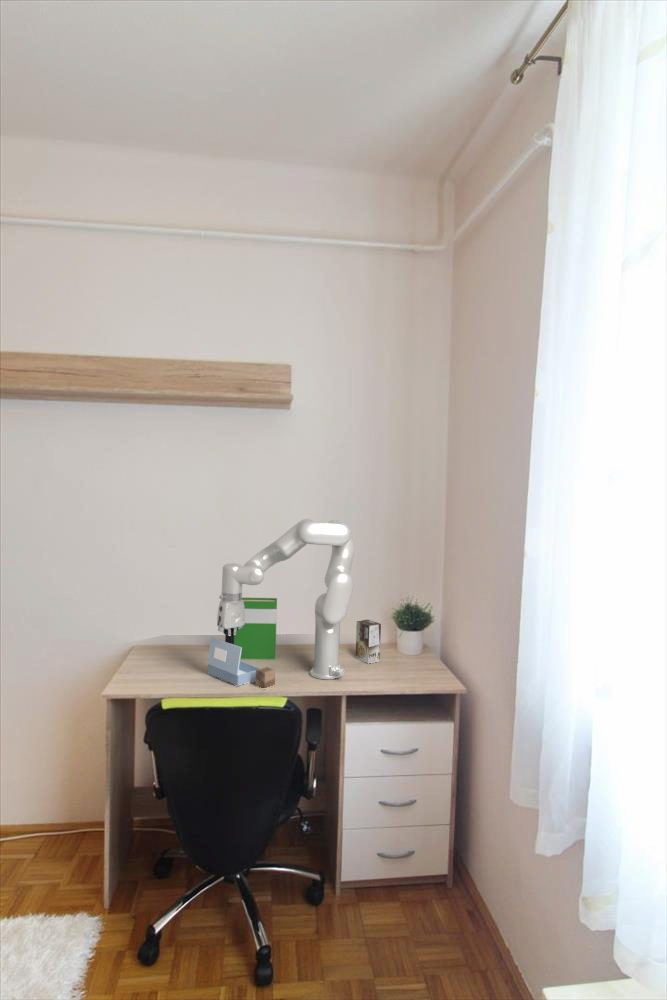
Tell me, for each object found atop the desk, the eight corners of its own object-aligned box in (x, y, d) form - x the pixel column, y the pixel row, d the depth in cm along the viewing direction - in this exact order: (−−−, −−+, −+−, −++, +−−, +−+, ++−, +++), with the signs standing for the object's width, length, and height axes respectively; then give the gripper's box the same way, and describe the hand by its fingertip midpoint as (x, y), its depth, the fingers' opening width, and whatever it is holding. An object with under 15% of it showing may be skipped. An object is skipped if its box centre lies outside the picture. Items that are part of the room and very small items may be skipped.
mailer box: (262, 679, 251) (263, 668, 251) (237, 686, 243) (237, 675, 242) (232, 667, 264) (233, 657, 263) (207, 674, 255) (208, 664, 255)
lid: (241, 647, 243) (240, 647, 242) (237, 675, 242) (236, 675, 242) (211, 637, 255) (210, 637, 255) (208, 663, 255) (206, 663, 254)
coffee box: (380, 662, 277) (381, 623, 276) (368, 664, 273) (369, 625, 272) (367, 656, 285) (368, 618, 283) (354, 658, 281) (356, 620, 280)
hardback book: (232, 658, 275) (233, 601, 273) (233, 653, 282) (234, 597, 281) (275, 659, 276) (276, 602, 275) (275, 653, 284) (276, 598, 282)
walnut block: (274, 686, 245) (275, 670, 244) (264, 689, 241) (264, 673, 241) (265, 682, 248) (266, 666, 248) (255, 685, 244) (255, 669, 244)
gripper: (221, 601, 241) (219, 651, 242) (253, 596, 252) (251, 644, 253) (209, 597, 246) (207, 646, 248) (240, 592, 257) (238, 639, 258)
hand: (229, 645), depth 250 cm, fingers closed
